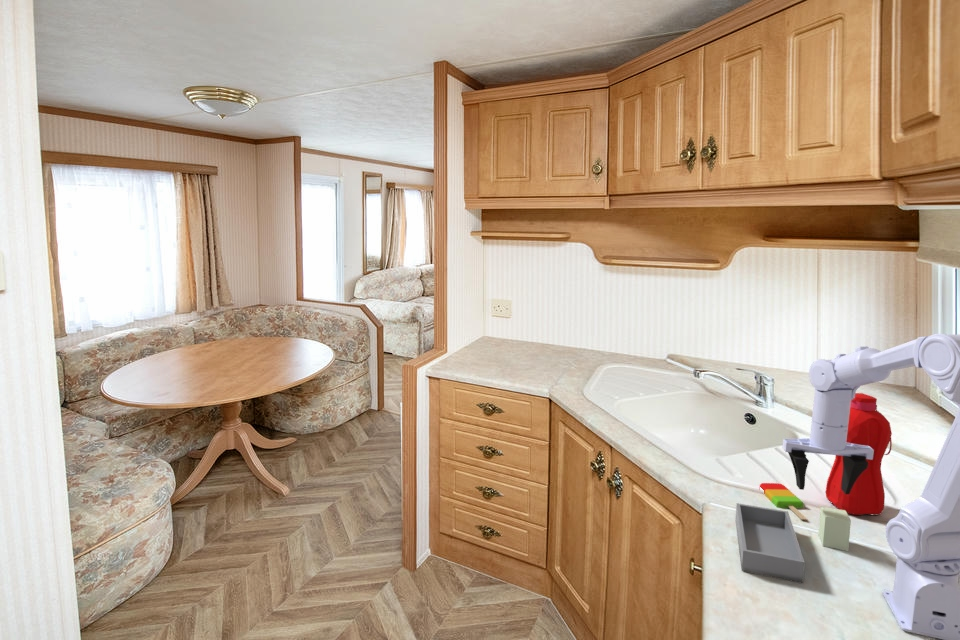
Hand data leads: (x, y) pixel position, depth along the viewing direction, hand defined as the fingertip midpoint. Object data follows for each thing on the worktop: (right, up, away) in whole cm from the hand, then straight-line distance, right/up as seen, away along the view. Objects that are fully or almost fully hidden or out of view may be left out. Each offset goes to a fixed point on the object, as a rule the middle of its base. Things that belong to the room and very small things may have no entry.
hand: (822, 489), depth 101 cm
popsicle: (+1, -8, +14) cm, 17 cm away
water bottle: (+16, -8, +13) cm, 22 cm away
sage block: (+1, -10, -1) cm, 10 cm away
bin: (-12, -10, -3) cm, 16 cm away
